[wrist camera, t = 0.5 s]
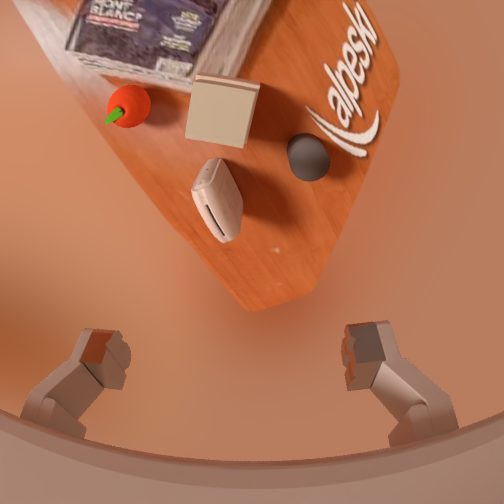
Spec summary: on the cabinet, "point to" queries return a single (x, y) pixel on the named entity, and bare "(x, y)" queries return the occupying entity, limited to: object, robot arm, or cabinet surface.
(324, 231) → the cabinet surface
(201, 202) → the photo printer
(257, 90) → the tower bottom block
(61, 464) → the robot arm
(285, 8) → the cabinet surface
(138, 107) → the clementine
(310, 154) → the charcoal cylinder
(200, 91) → the tower top block
